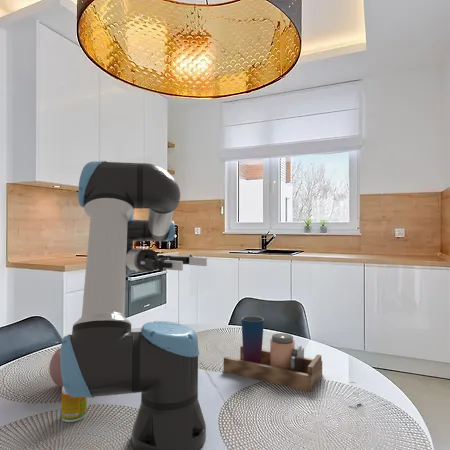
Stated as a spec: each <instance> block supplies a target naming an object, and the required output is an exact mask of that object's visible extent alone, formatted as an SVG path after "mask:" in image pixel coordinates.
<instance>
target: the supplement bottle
mask: <svg viewBox="0 0 450 450" xmlns="http://www.w3.org/2000/svg"><path fill="white" fill-rule="evenodd" d="M87 399H88V397H77V398H74V397H71V396H69V395H68V394H67V393H66V391H65V389H64V386H63V387H62V388H61V420H62V421H63V422H65V423H74V422H78V421H81V420H83V419H84V418H85V417H86V415H87V412H88V411H87V409H88V406H87V405H88V404H87V402H88V401H87Z"/></svg>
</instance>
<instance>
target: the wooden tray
mask: <svg viewBox="0 0 450 450" xmlns="http://www.w3.org/2000/svg"><path fill="white" fill-rule="evenodd" d="M239 350H240V351H239V352H240V354H239V355H240V357H239V359H238V358H234V357H230V356H224V357H223V372H224V373H228V374H232V375H236V376H241V377H245V378H250V379H253V380H257V381H261V382H262V381H263V382H266V383H270V384H274V385H279V386H282V387H287V388H290V389H291V388H292V389H297V390H300V391H305V392H309V393H312V391H313V390H314V388H315V386H316V385H317V384H318V382H319V381H320V380H321V377H322V376H323V360H322V355H321V354H316V355H315V357H314V358H310V357H305V356H304V372H303V373H301V372H296V371H291V370H287V369H282V368H277V367H272V366H270V350H268V349H263V348H262V354H261V364H258V363H254V362H249V361H244V360H243V345H240V348H239Z"/></svg>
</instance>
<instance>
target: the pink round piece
mask: <svg viewBox="0 0 450 450" xmlns="http://www.w3.org/2000/svg"><path fill="white" fill-rule="evenodd" d="M60 352H61V347H60V348H58V349H56V351H55V352H54V354H53V355H52V356H51V359H50V361H49V368H48V369H49V371H48V372H49V375H50V378H51V380H52V381H53V383H54V384H55V385H56V386H58V388H59V387H60V388H61V389H62V387H63V386H64V385H63V381H62V375H61V361H60Z"/></svg>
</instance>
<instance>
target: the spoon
mask: <svg viewBox="0 0 450 450" xmlns="http://www.w3.org/2000/svg"><path fill="white" fill-rule="evenodd" d="M349 383H350V384H356V382H355V381H350V382H349ZM352 393H353V394H354V395H355V397H356V398H359V396H360V395H359V392H355V391H353V392H352ZM356 411H357V415H358V414H359V416H360V417H365V415H366V416H367V414H366V412H365V409H364V407H363V405H362V403H357V404H356Z"/></svg>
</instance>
